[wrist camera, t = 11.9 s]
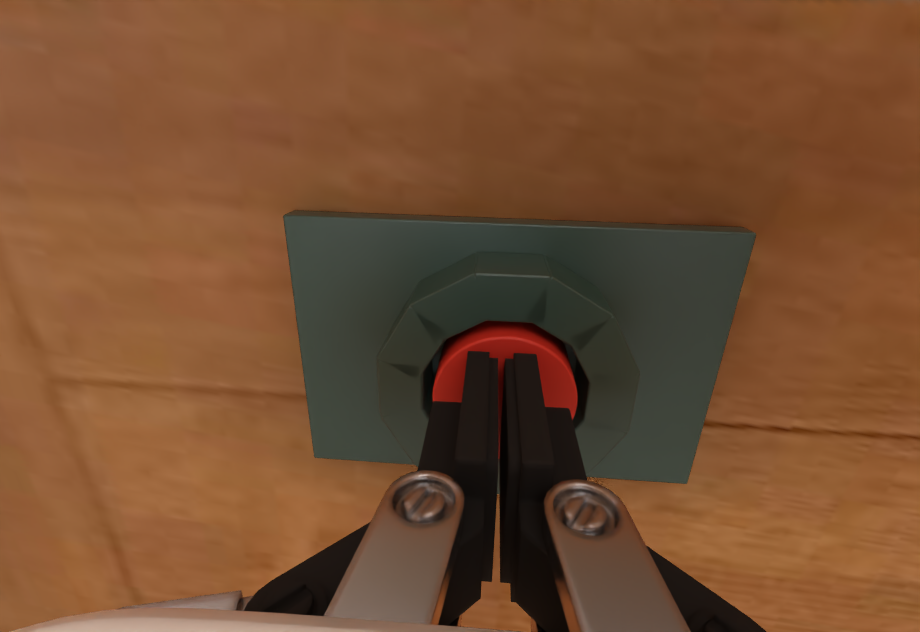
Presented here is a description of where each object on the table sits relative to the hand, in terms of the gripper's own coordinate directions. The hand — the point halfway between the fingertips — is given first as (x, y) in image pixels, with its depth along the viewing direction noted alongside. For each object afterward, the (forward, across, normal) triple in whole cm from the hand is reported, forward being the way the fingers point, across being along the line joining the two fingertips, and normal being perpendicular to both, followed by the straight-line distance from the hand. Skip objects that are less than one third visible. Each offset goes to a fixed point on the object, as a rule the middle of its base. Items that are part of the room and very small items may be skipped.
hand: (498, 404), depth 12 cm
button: (+2, 0, 0) cm, 2 cm away
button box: (+3, 0, 0) cm, 3 cm away
